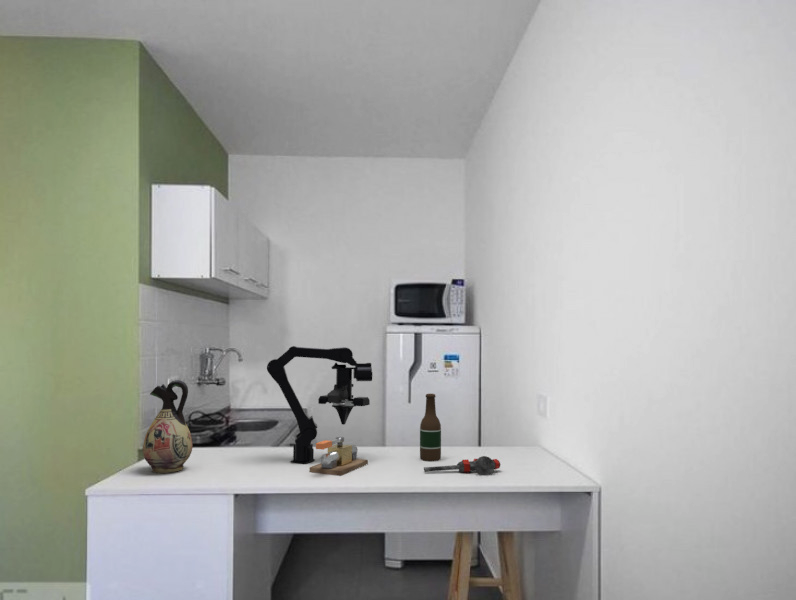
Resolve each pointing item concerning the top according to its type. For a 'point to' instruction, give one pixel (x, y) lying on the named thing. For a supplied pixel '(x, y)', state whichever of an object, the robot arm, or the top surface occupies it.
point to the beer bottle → (430, 432)
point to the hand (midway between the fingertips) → (343, 424)
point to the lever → (328, 443)
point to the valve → (471, 466)
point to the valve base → (339, 468)
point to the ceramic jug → (168, 432)
